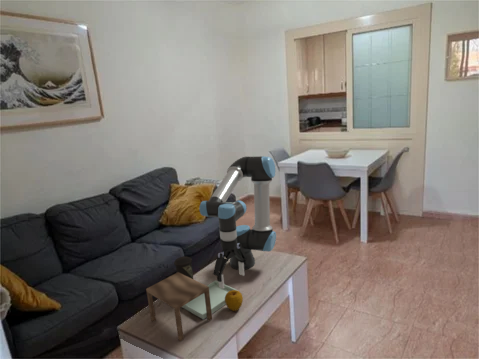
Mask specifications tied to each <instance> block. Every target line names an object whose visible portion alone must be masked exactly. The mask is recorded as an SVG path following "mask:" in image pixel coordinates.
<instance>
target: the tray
mask: <svg viewBox="0 0 479 359" xmlns="http://www.w3.org/2000/svg"><path fill="white" fill-rule="evenodd" d="M206 286H208V287H209V293H210V303H211V312H212V314H214V313H215V312H216V311H218V310H220V309H221V308H223V307H224V306H225V305H226V303H225V296H226V294H227V293H228V292H229V291H232V290H237V291H239V290H238V289H236V288H234V287H231V286H230V285H227V284H225V283H224V288H221V287H219V282H218V280H213V281H212V282H210V283H209V284H207V285H206ZM181 308H183V309H184V310H186V311H188V312H189V313H191V314H193V315H195V316H197V317H198V318H200V319H202V320H205V319H207V313H206V304H205V294H204V293H203V294H201V295H200V296H198V297H197V298H195V299H193V300H192V301H190V302H189V303H187V304H185V305H184V306H182V307H181Z"/></svg>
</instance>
